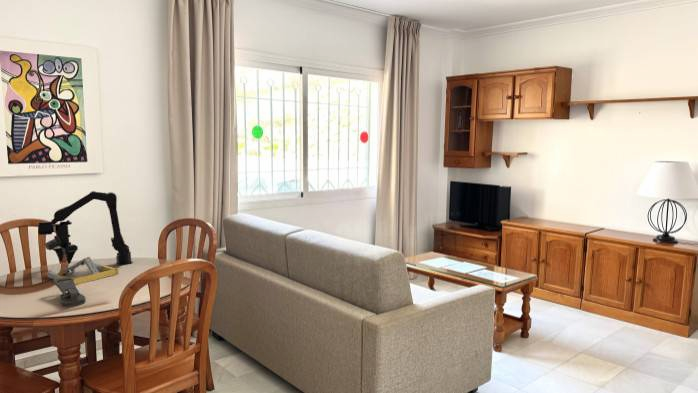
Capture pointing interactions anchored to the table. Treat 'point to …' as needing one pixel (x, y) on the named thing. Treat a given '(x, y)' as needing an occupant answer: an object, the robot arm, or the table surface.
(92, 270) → the bracket
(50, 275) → the guide channel
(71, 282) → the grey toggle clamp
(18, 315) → the table surface
